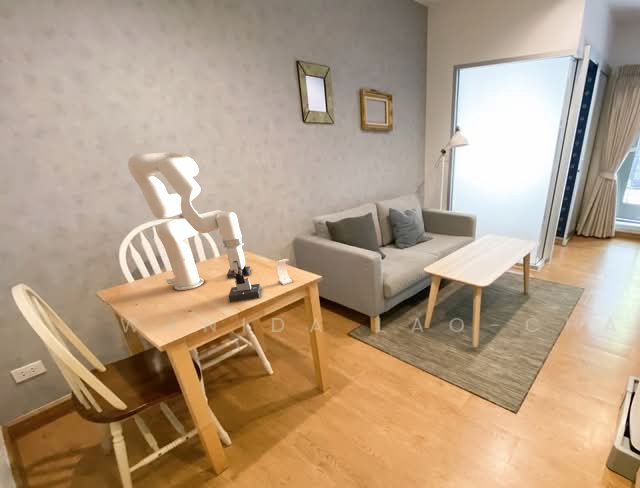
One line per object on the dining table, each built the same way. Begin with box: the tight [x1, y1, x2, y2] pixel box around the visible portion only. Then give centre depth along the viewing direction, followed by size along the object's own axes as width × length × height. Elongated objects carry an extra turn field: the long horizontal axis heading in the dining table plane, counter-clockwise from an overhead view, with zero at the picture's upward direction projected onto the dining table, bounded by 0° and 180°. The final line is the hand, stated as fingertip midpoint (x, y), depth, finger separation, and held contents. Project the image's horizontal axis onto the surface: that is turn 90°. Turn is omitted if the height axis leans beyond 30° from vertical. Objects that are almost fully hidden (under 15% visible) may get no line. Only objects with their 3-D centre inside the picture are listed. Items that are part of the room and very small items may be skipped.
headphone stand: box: [275, 258, 293, 286], centre depth 160 cm, size 5×6×12 cm
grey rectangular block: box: [234, 277, 252, 291], centre depth 147 cm, size 6×2×5 cm, turn 107°
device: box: [228, 283, 262, 303], centre depth 149 cm, size 12×10×3 cm
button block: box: [226, 265, 252, 279], centre depth 171 cm, size 10×8×4 cm
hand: (242, 279), depth 146 cm, fingers open, 9 cm apart
